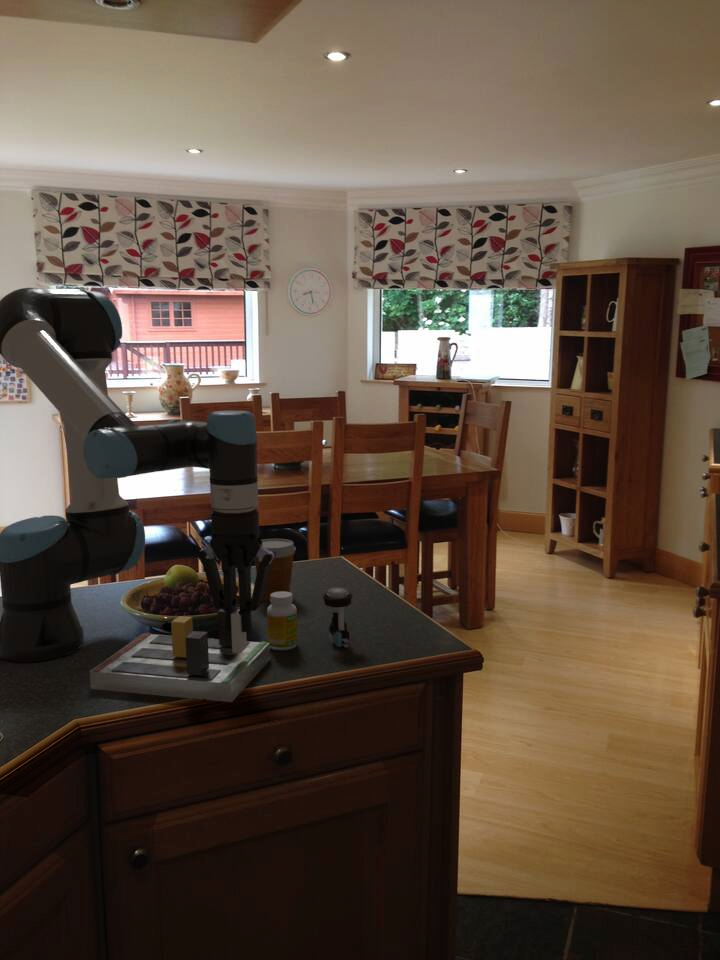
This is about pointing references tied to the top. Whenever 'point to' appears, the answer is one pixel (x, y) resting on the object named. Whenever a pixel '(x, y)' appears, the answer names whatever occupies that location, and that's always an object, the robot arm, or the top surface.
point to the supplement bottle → (282, 621)
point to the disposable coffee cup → (278, 566)
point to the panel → (182, 666)
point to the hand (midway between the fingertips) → (239, 649)
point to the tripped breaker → (180, 634)
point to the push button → (338, 615)
